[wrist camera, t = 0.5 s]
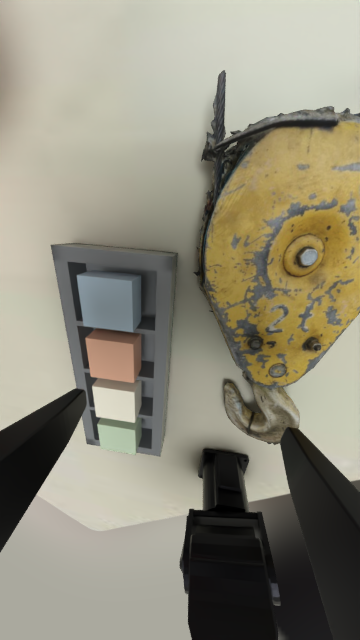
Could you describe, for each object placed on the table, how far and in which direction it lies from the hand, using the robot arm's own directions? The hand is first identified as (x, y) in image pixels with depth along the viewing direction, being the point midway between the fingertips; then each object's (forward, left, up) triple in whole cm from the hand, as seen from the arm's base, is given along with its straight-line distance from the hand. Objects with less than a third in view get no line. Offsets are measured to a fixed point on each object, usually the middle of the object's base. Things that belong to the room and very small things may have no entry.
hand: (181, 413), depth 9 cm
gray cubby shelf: (-7, +7, -12) cm, 16 cm away
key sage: (-15, +7, -10) cm, 20 cm away
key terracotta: (-4, +7, -10) cm, 13 cm away
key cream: (-10, +7, -10) cm, 16 cm away
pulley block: (+1, -7, -13) cm, 15 cm away
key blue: (+1, +7, -10) cm, 13 cm away
